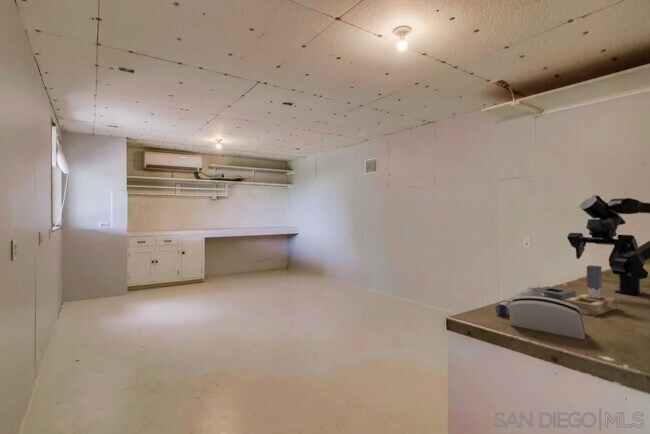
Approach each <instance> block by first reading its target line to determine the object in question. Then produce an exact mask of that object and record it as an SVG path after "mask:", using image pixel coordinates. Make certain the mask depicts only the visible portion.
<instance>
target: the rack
mask: <svg viewBox="0 0 650 434" xmlns="http://www.w3.org/2000/svg"><path fill="white" fill-rule="evenodd" d="M564 302H567V303H570V304H572V305H575V306H577V307H579V309H580V312H581V314H584V315H587V316H593V317H596V316H599V315H602V314H604V313H607V312H610V311H613V310H616V309H617V310H618V304H617V303H618V299H617V298H615V297H608V296H603V295H601V300H595V299H589V298H588V293H584V294H580V295H576V297H572V298H569V299H565V300H564Z"/></svg>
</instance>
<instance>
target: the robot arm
mask: <svg viewBox="0 0 650 434" xmlns="http://www.w3.org/2000/svg"><path fill="white" fill-rule="evenodd" d="M579 209H581V210H583V212H585V214H587V215H588V216H589V217H591V218H592V219H591V218H590V219H587V222H586V227H585V228H586V229H587V230H588V234H589V235H590V236H584V234H583V233H582V232H569V233H568V235H567V236H566V238H567V240H568V242H569V243H570V246H571V247H573V248H574V249H575V256H576V257H575V258H576V259H577V260H579V259H580V258H581V257H582V255H583V254H584V251H585V247H586V246H587V244H595V245H604V246H605V245H607V246H613V249H612V251H611V253H610V254H609V257H608V263H609V264H608V265H609V267H610V269H611V272H612V274H613V275H618V289H616V290H614V293H620V294H624V295H631V296H638V297H639V296H641V295H644V294H645V291H642V290H641V280H642V279H647V278H648V276H649V272H648V271H647V270H646V269H645V268H644V266H645V263H646V261H648V260H649V259H650V240H649V241H646V242H645V243H643V244H642V245H639V244H638V242H637V240H636V239H637V238H636V237H635V236H634V235H632V234H618V235H617V229H618V227H619V226H621V225H626V221H625V220H624V219H623V217H622V216H621V215H632V214H633V215H635V214H650V202H643V201H640V200H637V199H634V198H630V197H627V198H626V197H625V198H612V199H610V200H609V201H608V202H605V200H603V199H602V197H600V196H599V195H598V194H595V195H592V196H590V197H589V198H587V199H585V200H584V201H582V202H581V203H580V205H579ZM614 237H617V238H614Z"/></svg>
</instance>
